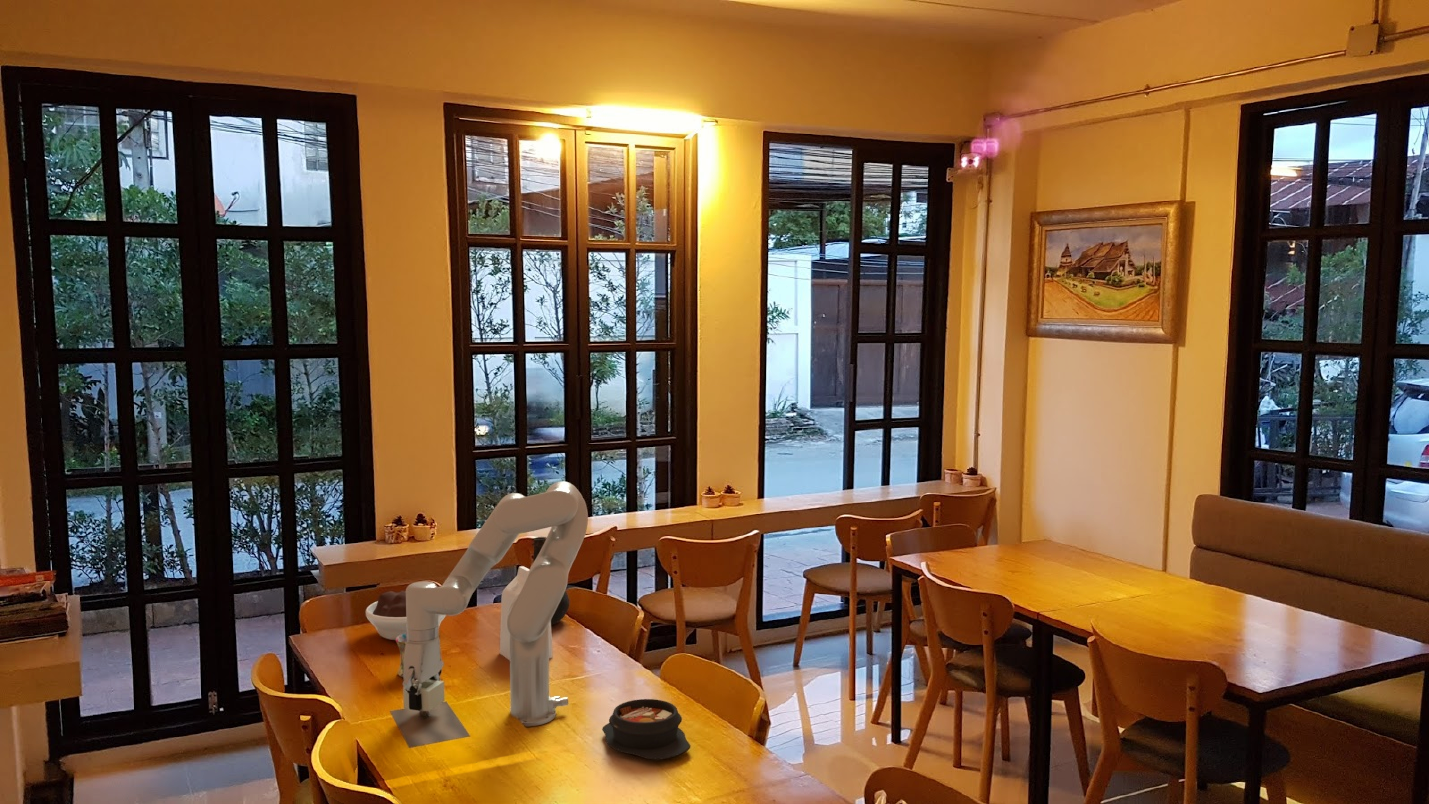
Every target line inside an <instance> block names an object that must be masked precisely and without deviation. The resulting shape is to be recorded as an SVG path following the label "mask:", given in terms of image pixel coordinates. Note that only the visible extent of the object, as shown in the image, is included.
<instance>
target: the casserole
mask: <svg viewBox="0 0 1429 804" xmlns="http://www.w3.org/2000/svg"><path fill="white" fill-rule="evenodd" d="M682 720H683V718H682V715H681V714H680V713H679V711H678V707H676V706H675V704H673V703H672V702H668V701H666V700H661V699H654V698H653V699H652V698H643V699H642V698H640V699H633V700H629V701H625V702H622V703H620V704H618V705H617V706H615V708H614V709H613V712H612V714H611V715H610V717H609V719H608V723H606V724H605V725H604V726H603V727H602V728H601V730H602V732H603V733H604V736H605V742H606V744H607V745H608V746H609V747H610V748H612V749H614V750H616V751H617V752H621V753H623V754H624V753H625V754H629V755H634V756H638V757H641V758H644V759H647V760H653V761H654V760H665V759H669V758H673V757H674V758H675V757H677V756H680V755H683V754H684V753H686V752H688V751H689V750H690V749H691V744H690V743H689V741H688V740H687V738H686V734H685V732H684V731H683V730H682V728H679V726H680V724H681V723H682Z"/></svg>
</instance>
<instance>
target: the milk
mask: <svg viewBox="0 0 1429 804" xmlns="http://www.w3.org/2000/svg"><path fill="white" fill-rule="evenodd" d="M529 570H530V568H527V567H525V566H523V565H521V566H519V567H518V569H517V575H516V576H515V577H514V578H513V579H512V580H511V581H510V582H509V583H508V585H506V587H504V588H503V590H502V592H501V601H500V603H501V606H500V629H499V631H500V634H499V635H500V638H499V654H500V655H501V656H503V657H505V659H506V660H508V661H510V633H509V631H508V628H507V617H508V612H509V608H510V605H511V603H512V601H513V599H514V598H515V597H516V596H517V595H518V594H520V592H521V590H522V588H523V586H524V584H525V582H526V580H527V577H528V574H529ZM552 658H554V651H553V639H552V625H551V621H550V623H549V659H552Z"/></svg>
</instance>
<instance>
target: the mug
mask: <svg viewBox="0 0 1429 804" xmlns="http://www.w3.org/2000/svg"><path fill="white" fill-rule="evenodd" d="M395 642H396V644H397V647H398V650H399V653H400V665H399V668H398V671H397V674H398V676H400V677H401V678H404V677H403V669H404V652H405V646H406V642H407V633H406V634H402V635H400V636H398V637H397V638H396V640H395Z"/></svg>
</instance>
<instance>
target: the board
mask: <svg viewBox="0 0 1429 804" xmlns="http://www.w3.org/2000/svg"><path fill="white" fill-rule="evenodd" d="M389 712H390V714H391V716H392V718H393V720H394V722H395V724H396V725H397V728H398V730H399V731H400V733H401V735H402V737H403V739H404V740H405V743H406V745H407V746H408V748H409V749H410V748H415V747H421V746H426V745H431V744H437V743H440V742H441V743H442V742H448V741H452V740H459V739H462V738H464V739H465V738H468V737H471V735H470V734H469V732H468V730H467V729H466V728H465V726H464V725H463V723H462V722H461V720H460V719H459V717H458V715H457V714H456V713H455V711H454V710H453V709H452V707H451V706H450V704H449V703H448V702H447V701H444V702H442V703H441V704H439V705H438V706H436V707H435V708H433V709H432V710H430V711H429V714H430V716H429V717H426V718H420V717H419V711H418V710H411V709H407V708H400V709H394V710H390V711H389Z"/></svg>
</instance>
